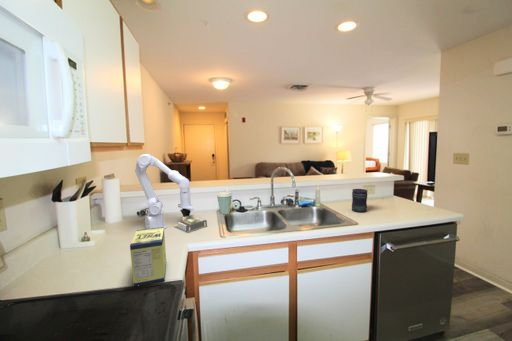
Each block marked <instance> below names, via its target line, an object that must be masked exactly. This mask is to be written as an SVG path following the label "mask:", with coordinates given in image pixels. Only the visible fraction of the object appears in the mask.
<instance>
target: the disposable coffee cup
mask: <svg viewBox="0 0 512 341" xmlns="http://www.w3.org/2000/svg"><path fill="white" fill-rule="evenodd" d="M216 197H217V202H218V208H219V214H221V215H228V214H230V212H231V205H232V197H233V194H232V192H231V191H229V190H228V191H220V192H217V194H216Z"/></svg>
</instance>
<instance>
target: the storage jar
mask: <svg viewBox="0 0 512 341" xmlns="http://www.w3.org/2000/svg"><path fill="white" fill-rule="evenodd" d="M351 192H352V194H351V198H352V202H351V211H352V212H353V213H358V214H365V213H367V209H368V204H367V202H368V201H367V200H368V189H365V188H364V189H363V188H352V191H351Z"/></svg>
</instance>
